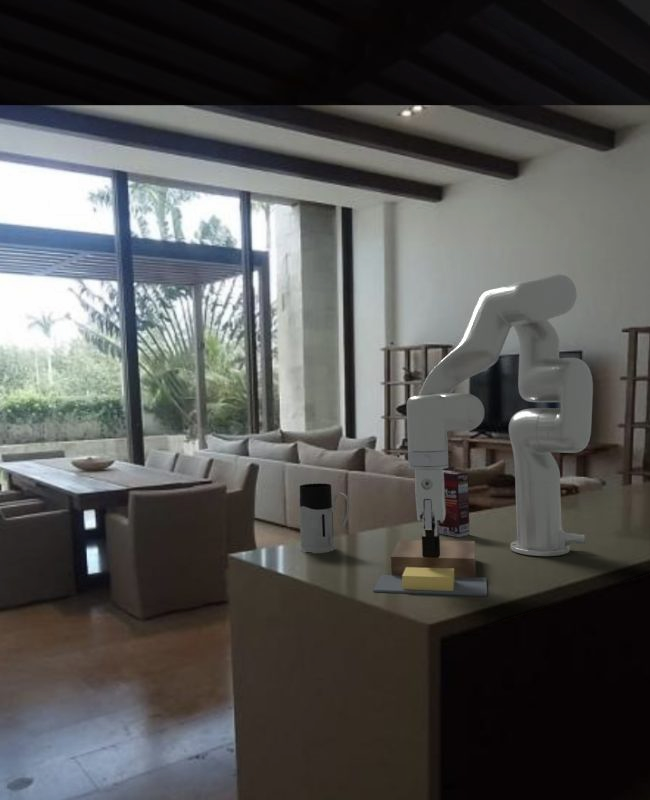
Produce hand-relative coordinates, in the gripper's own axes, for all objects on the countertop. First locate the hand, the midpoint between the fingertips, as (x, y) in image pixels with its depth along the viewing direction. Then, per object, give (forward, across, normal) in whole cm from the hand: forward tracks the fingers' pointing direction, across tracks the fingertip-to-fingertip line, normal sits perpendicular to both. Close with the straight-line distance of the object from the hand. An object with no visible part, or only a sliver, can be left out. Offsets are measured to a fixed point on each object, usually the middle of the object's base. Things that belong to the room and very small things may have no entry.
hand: (431, 556), depth 122 cm
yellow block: (+2, -4, 0) cm, 4 cm away
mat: (+5, -3, 0) cm, 6 cm away
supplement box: (+5, +43, -2) cm, 43 cm away
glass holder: (+5, +23, +26) cm, 35 cm away
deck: (+5, +10, 0) cm, 11 cm away
